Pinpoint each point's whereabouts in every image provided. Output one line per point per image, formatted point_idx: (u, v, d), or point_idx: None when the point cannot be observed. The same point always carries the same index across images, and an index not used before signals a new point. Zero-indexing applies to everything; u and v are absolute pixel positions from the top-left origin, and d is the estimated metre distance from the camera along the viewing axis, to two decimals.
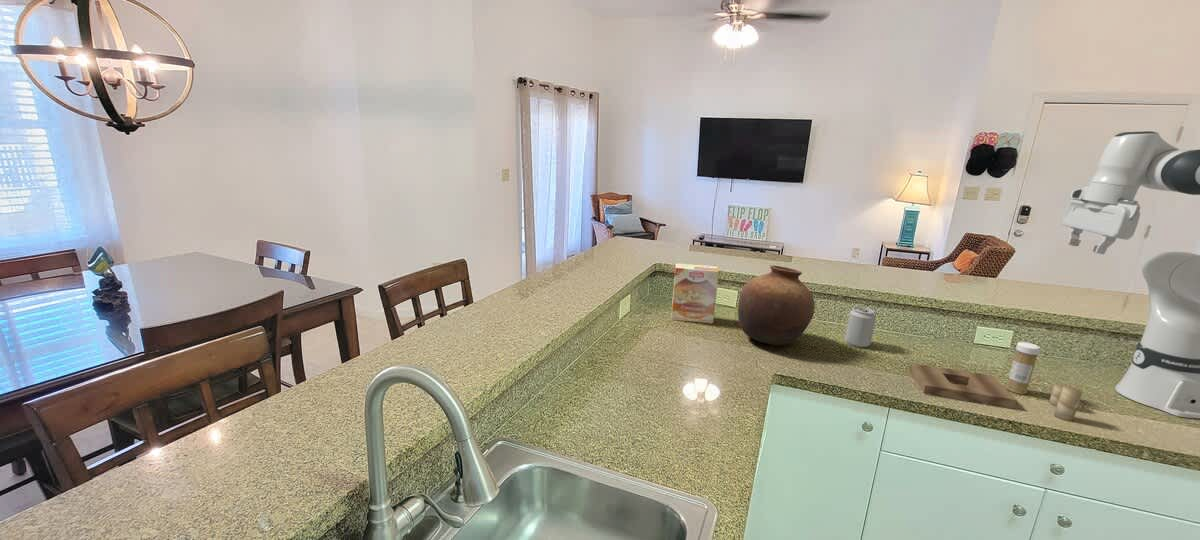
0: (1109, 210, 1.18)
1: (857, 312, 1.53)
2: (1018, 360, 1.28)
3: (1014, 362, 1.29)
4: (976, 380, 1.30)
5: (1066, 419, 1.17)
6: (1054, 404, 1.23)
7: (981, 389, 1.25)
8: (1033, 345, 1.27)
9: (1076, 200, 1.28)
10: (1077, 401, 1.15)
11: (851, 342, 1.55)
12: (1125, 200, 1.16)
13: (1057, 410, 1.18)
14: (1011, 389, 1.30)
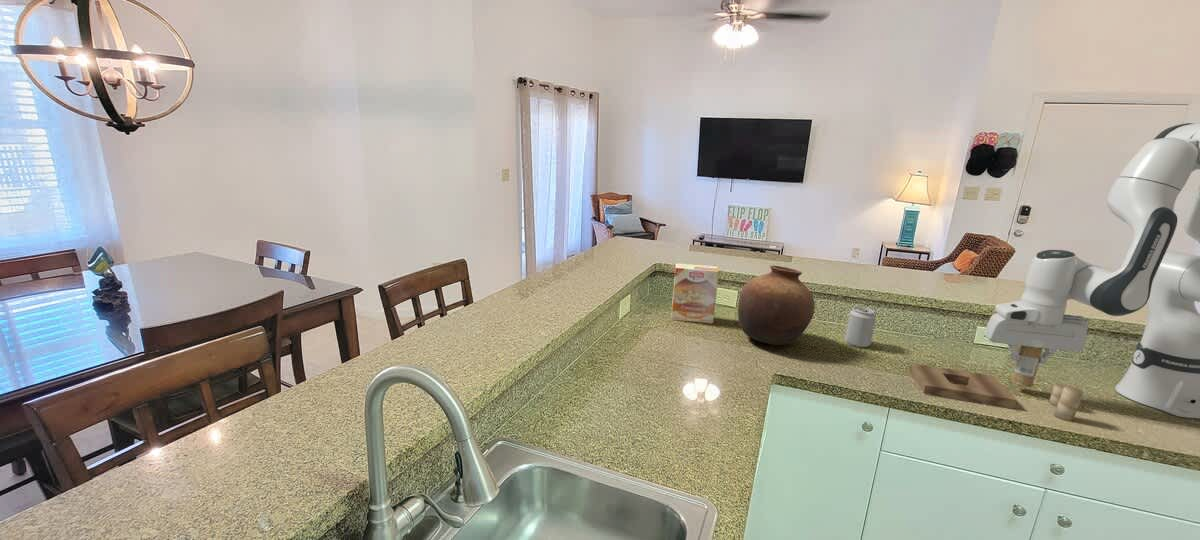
0: (1064, 328, 1.22)
1: (857, 312, 1.53)
2: (1023, 353, 1.27)
3: None
4: (976, 380, 1.30)
5: (1066, 419, 1.17)
6: (1054, 404, 1.23)
7: (981, 389, 1.25)
8: None
9: (1015, 320, 1.25)
10: (1077, 401, 1.15)
11: (851, 342, 1.55)
12: (1071, 316, 1.22)
13: (1057, 409, 1.18)
14: (1017, 382, 1.29)
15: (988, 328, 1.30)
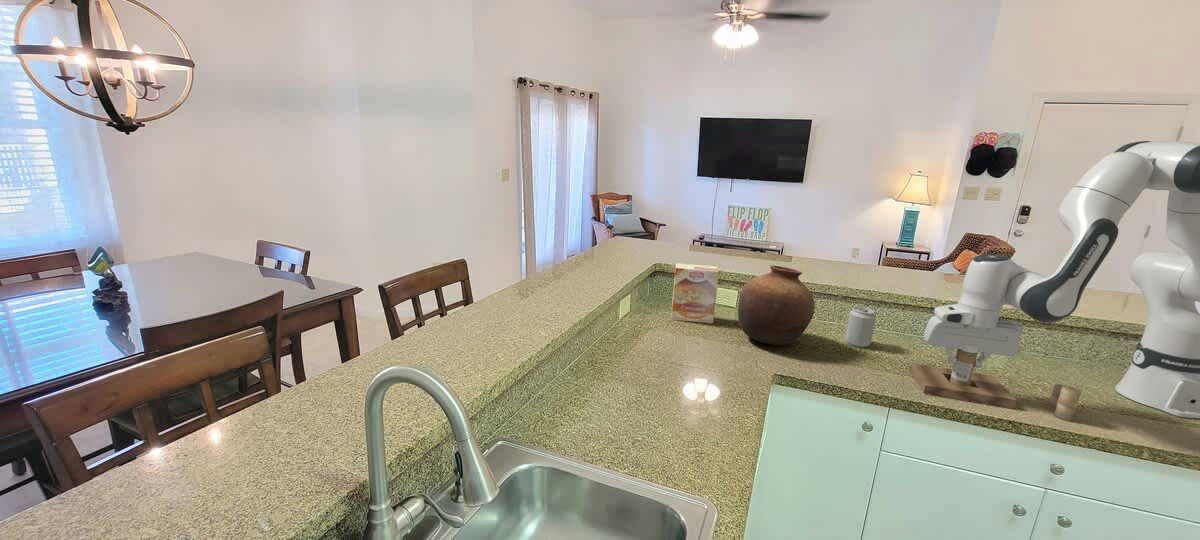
0: (998, 332, 1.23)
1: (857, 312, 1.53)
2: (958, 358, 1.28)
3: None
4: (976, 380, 1.30)
5: (1065, 419, 1.17)
6: (1054, 404, 1.23)
7: (981, 389, 1.25)
8: None
9: (951, 323, 1.25)
10: (1076, 401, 1.15)
11: (851, 342, 1.55)
12: (1005, 321, 1.23)
13: (1057, 409, 1.18)
14: None
15: (926, 330, 1.30)
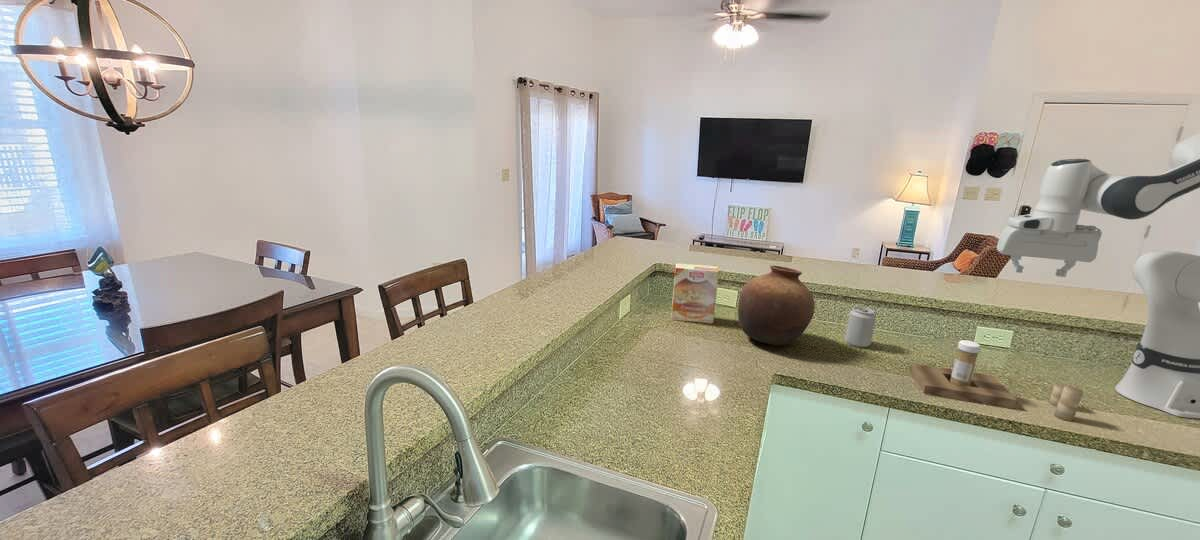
0: (1077, 238, 1.23)
1: (857, 312, 1.53)
2: (959, 358, 1.27)
3: (955, 360, 1.29)
4: (976, 380, 1.30)
5: (1064, 418, 1.17)
6: (1054, 404, 1.23)
7: (981, 389, 1.25)
8: (974, 343, 1.26)
9: (1028, 230, 1.25)
10: (1076, 401, 1.15)
11: (851, 342, 1.55)
12: (1083, 226, 1.23)
13: (1057, 408, 1.18)
14: None
15: (1000, 241, 1.30)
